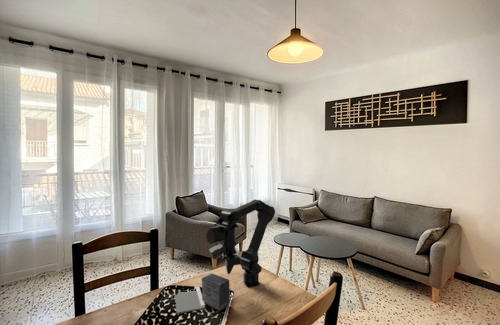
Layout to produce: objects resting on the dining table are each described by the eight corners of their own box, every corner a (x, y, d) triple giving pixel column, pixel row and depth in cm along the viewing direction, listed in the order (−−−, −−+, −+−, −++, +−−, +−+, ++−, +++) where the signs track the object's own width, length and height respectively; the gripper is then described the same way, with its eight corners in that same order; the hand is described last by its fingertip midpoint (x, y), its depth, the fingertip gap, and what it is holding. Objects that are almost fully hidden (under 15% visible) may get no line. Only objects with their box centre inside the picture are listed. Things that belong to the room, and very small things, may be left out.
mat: (199, 289, 120) (199, 286, 120) (204, 308, 105) (204, 304, 105) (174, 293, 116) (174, 290, 116) (176, 313, 101) (176, 310, 101)
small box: (230, 304, 107) (230, 279, 107) (219, 312, 102) (219, 285, 102) (212, 296, 114) (212, 272, 113) (201, 303, 108) (200, 278, 108)
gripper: (207, 234, 122) (206, 267, 122) (215, 247, 105) (215, 286, 105) (229, 232, 126) (229, 264, 126) (241, 244, 108) (241, 281, 109)
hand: (228, 273), depth 116 cm, fingers closed
